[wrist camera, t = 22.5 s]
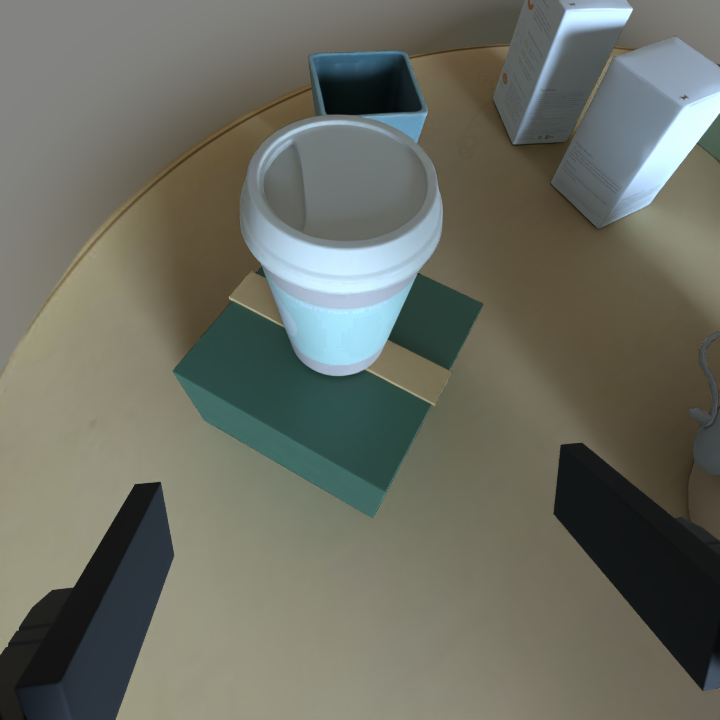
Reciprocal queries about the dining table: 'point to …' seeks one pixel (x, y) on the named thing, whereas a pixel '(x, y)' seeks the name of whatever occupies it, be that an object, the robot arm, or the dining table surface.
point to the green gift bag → (712, 139)
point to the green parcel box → (327, 388)
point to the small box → (555, 65)
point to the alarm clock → (706, 457)
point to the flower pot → (369, 88)
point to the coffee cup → (340, 232)
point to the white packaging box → (638, 129)
